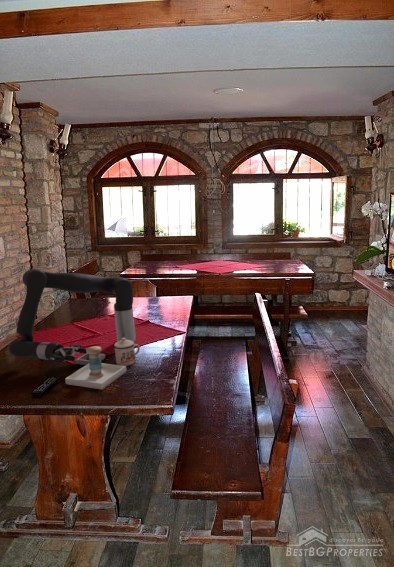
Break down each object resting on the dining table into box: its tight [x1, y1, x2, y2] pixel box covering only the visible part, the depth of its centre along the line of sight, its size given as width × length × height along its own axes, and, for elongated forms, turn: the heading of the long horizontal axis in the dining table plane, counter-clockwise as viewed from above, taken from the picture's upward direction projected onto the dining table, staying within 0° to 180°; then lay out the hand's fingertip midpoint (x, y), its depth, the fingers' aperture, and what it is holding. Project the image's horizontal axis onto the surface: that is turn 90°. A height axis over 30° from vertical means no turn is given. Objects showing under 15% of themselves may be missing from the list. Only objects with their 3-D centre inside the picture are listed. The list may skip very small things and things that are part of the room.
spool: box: [86, 345, 104, 379], centre depth 189 cm, size 6×6×12 cm
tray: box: [64, 362, 127, 390], centre depth 190 cm, size 18×18×2 cm
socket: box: [74, 353, 106, 366], centre depth 209 cm, size 10×10×2 cm
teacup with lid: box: [113, 338, 141, 367], centre depth 205 cm, size 12×9×12 cm
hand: (80, 354), depth 191 cm, fingers open, 8 cm apart
